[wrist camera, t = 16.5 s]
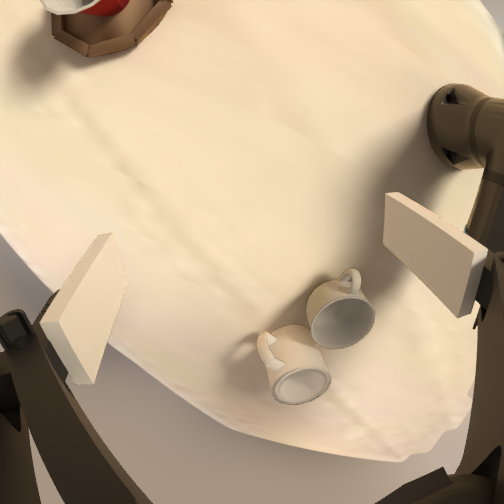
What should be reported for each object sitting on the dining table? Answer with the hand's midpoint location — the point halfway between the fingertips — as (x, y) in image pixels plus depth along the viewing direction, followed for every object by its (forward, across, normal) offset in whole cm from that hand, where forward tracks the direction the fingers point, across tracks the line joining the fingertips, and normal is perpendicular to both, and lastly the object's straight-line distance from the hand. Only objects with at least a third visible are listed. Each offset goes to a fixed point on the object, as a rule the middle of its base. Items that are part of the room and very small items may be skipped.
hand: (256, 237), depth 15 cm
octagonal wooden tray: (+31, -13, +25) cm, 42 cm away
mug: (+31, +6, -36) cm, 48 cm away
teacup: (+31, +15, -26) cm, 43 cm away
